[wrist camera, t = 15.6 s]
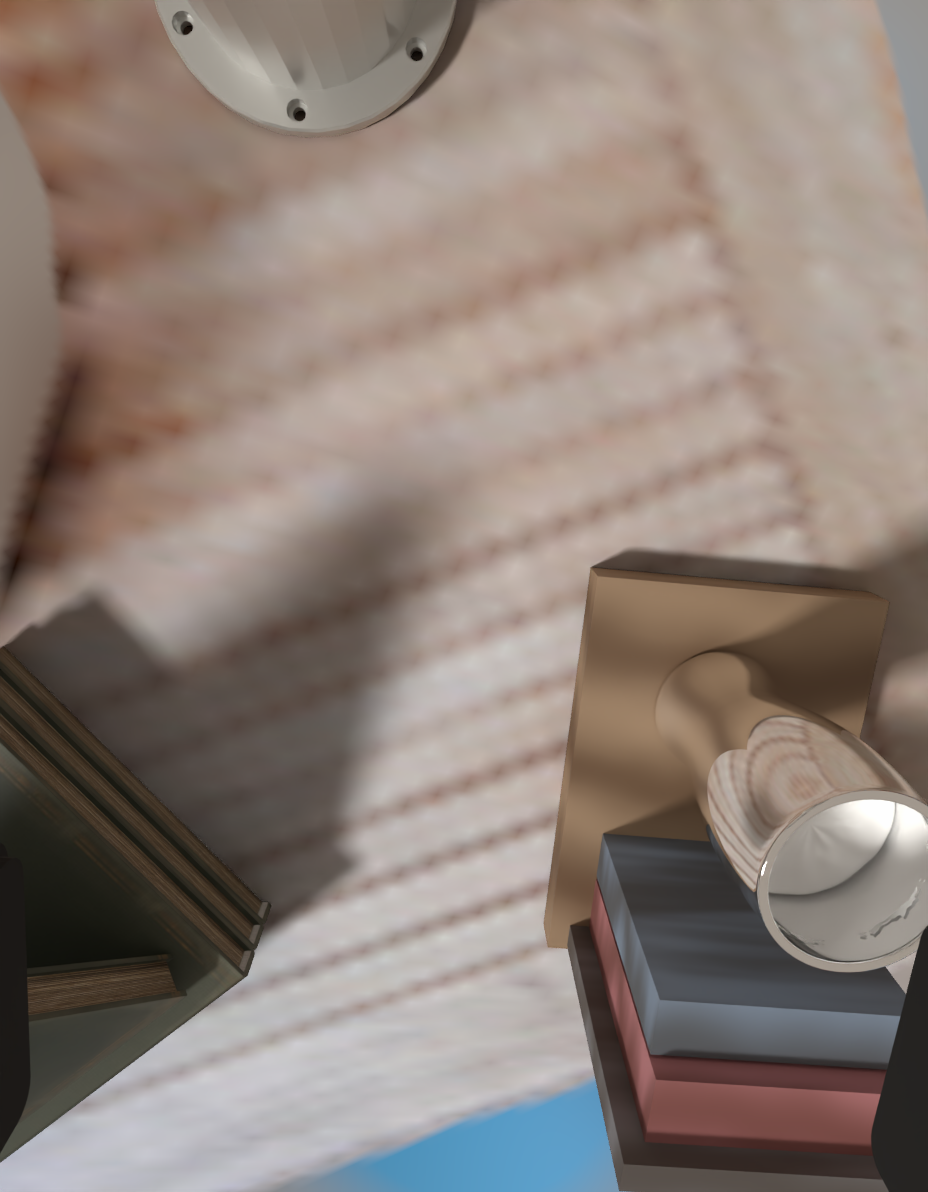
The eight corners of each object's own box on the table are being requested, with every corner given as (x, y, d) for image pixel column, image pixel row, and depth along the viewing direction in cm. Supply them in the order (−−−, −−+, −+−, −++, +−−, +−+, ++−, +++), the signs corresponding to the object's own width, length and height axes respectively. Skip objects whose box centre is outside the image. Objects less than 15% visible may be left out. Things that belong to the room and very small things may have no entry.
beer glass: (620, 682, 41) (717, 845, 27) (752, 616, 41) (925, 747, 26) (680, 797, 43) (801, 1012, 28) (808, 736, 42) (1000, 923, 28)
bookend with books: (590, 567, 42) (674, 676, 26) (869, 591, 42) (1112, 713, 27) (543, 923, 47) (591, 1193, 31) (794, 941, 47) (964, 1215, 32)
